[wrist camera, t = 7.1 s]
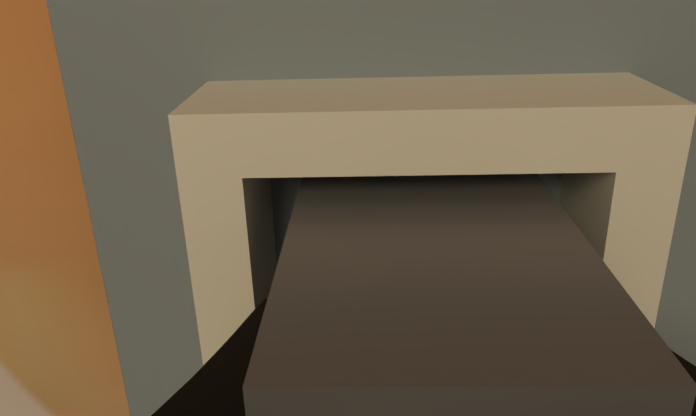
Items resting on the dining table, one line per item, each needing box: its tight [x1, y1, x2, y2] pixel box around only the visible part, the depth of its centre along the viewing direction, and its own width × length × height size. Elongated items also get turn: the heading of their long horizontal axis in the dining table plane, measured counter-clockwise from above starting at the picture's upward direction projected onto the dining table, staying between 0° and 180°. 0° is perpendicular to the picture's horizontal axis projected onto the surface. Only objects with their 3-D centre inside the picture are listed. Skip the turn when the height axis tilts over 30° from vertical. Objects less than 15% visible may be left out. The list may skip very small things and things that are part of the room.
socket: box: [46, 0, 696, 416], centre depth 12 cm, size 13×14×4 cm
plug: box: [242, 174, 696, 416], centre depth 9 cm, size 4×4×6 cm
